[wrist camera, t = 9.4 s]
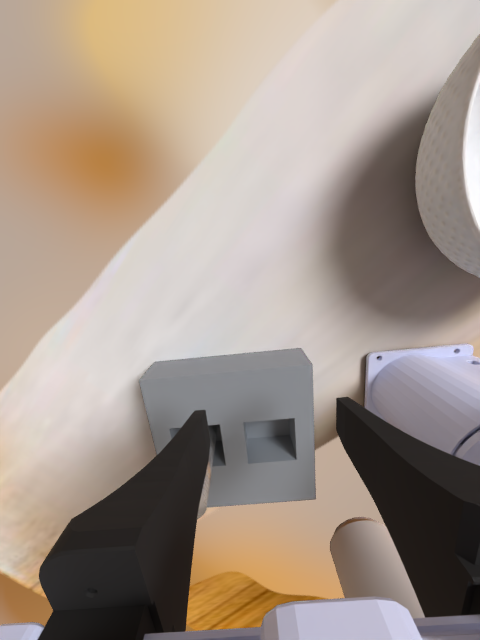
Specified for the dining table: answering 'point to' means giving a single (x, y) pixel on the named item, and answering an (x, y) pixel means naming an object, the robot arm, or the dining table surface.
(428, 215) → the cereal bowl
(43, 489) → the dining table surface
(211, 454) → the pin
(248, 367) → the hole block
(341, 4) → the dining table surface
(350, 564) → the can
